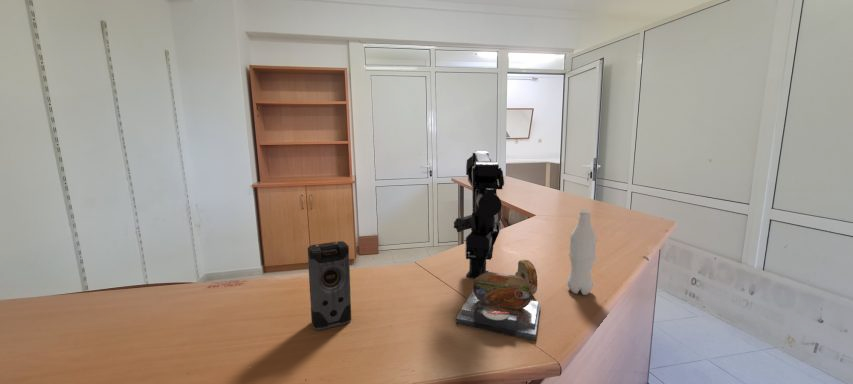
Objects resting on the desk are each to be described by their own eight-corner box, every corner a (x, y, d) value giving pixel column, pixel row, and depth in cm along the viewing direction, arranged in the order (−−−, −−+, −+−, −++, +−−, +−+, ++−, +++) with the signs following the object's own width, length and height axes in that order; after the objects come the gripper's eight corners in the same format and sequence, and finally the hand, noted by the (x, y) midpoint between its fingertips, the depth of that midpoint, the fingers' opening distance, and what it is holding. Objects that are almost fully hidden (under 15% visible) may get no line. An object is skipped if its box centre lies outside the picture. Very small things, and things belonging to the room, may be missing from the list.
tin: (472, 302, 89) (472, 272, 88) (475, 297, 92) (475, 268, 90) (530, 312, 83) (532, 281, 82) (531, 307, 86) (533, 276, 85)
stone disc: (539, 300, 95) (541, 267, 94) (526, 301, 95) (528, 267, 93) (525, 285, 105) (526, 255, 104) (514, 285, 105) (515, 255, 104)
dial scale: (472, 296, 97) (472, 282, 97) (539, 308, 90) (540, 293, 89) (453, 327, 81) (454, 310, 80) (534, 345, 74) (535, 326, 73)
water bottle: (566, 294, 99) (572, 212, 95) (566, 285, 105) (571, 208, 102) (593, 298, 96) (600, 214, 93) (591, 288, 103) (597, 210, 99)
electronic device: (314, 332, 79) (310, 252, 76) (310, 320, 84) (306, 245, 81) (352, 322, 83) (350, 246, 80) (347, 312, 88) (344, 240, 86)
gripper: (465, 199, 103) (464, 247, 105) (447, 212, 86) (446, 269, 88) (501, 202, 99) (500, 252, 101) (489, 216, 82) (488, 275, 84)
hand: (483, 261), depth 94 cm, fingers open, 9 cm apart
